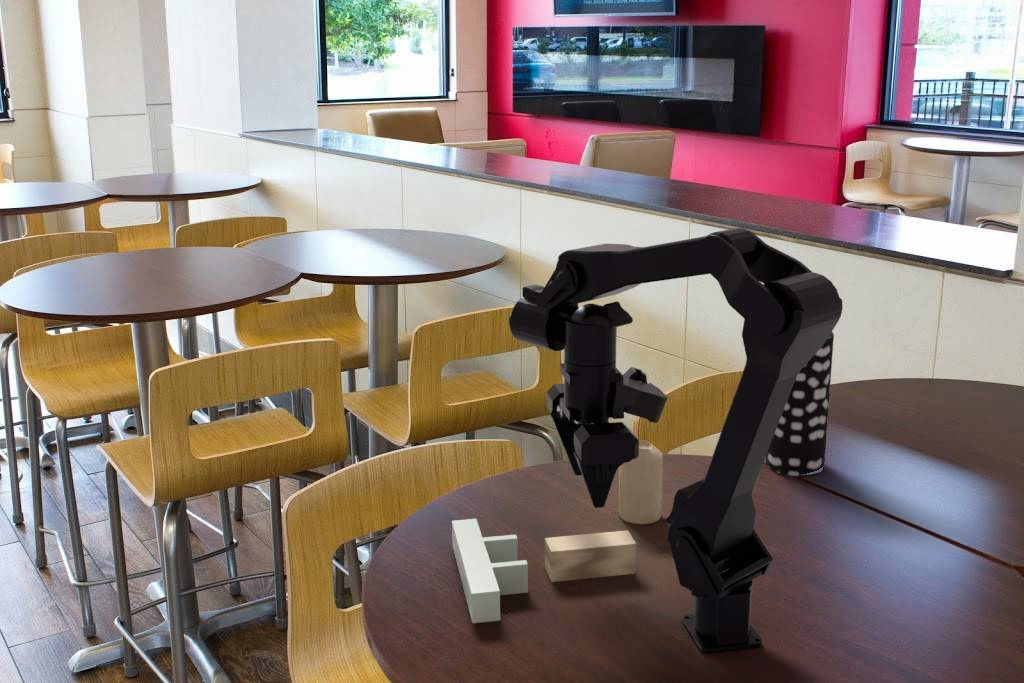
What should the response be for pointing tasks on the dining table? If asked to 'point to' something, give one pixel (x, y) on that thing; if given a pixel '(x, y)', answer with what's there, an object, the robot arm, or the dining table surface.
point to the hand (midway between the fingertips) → (588, 490)
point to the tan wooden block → (590, 555)
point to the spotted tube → (804, 419)
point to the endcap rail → (487, 569)
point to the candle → (641, 486)
